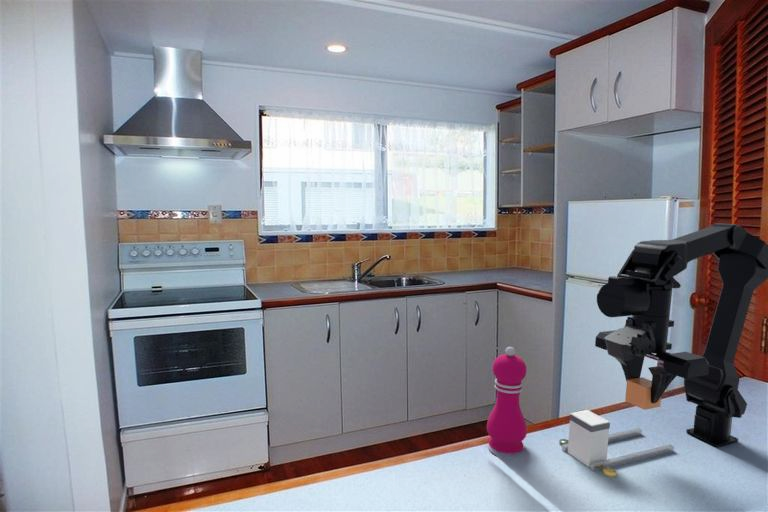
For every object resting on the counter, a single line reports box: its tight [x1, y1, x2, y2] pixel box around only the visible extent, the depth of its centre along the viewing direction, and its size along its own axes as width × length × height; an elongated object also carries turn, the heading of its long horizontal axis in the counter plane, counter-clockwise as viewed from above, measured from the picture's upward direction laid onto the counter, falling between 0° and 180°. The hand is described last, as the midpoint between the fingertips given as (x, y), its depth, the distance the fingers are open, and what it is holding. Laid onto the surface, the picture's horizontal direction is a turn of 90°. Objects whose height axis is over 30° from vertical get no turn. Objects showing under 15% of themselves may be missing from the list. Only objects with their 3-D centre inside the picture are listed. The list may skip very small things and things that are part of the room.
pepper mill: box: [486, 346, 528, 458], centre depth 90 cm, size 7×7×20 cm
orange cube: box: [624, 376, 662, 411], centre depth 88 cm, size 4×4×4 cm
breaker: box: [567, 409, 611, 468], centre depth 87 cm, size 4×5×8 cm
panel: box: [558, 427, 675, 478], centre depth 90 cm, size 20×14×2 cm
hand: (643, 398), depth 88 cm, fingers closed on orange cube, 4 cm apart
